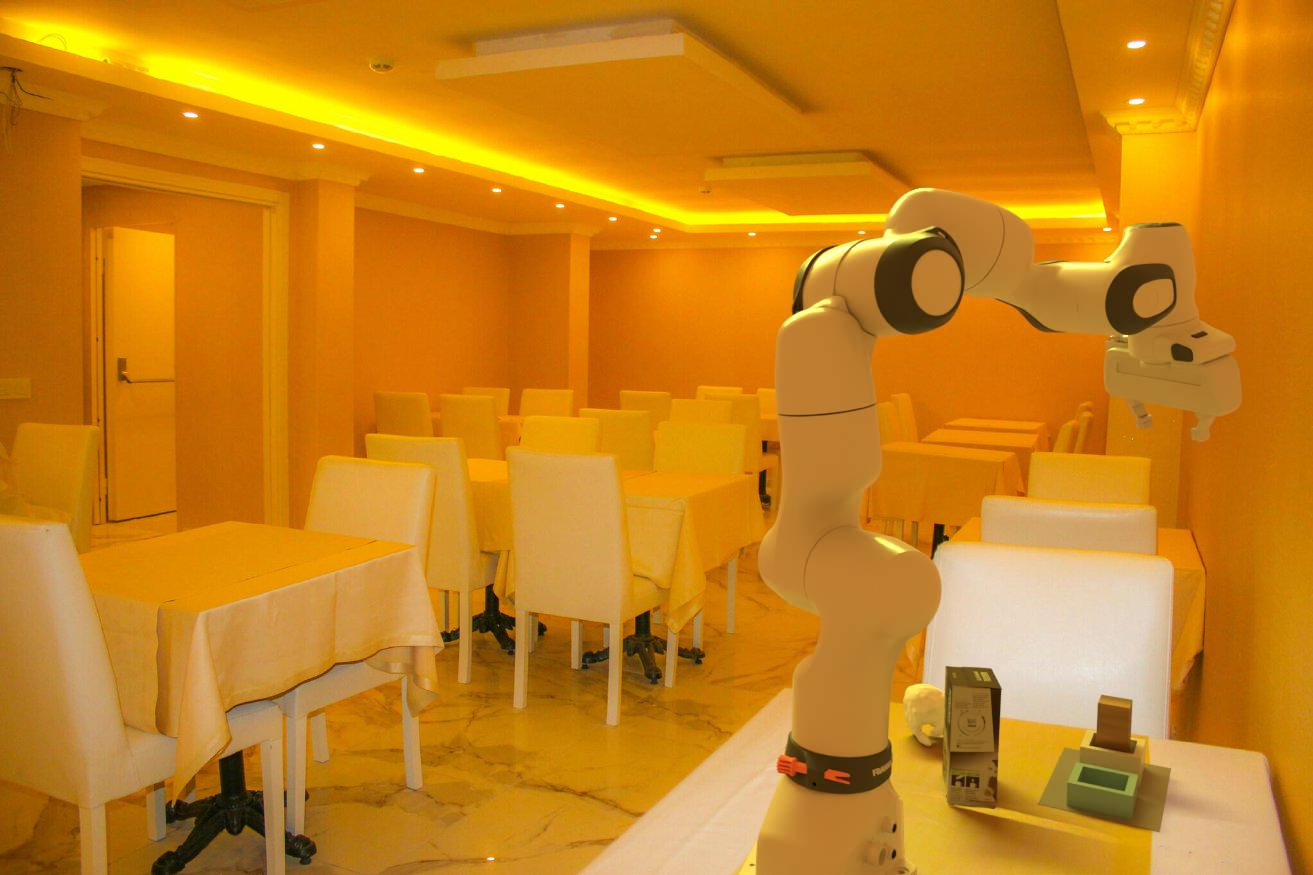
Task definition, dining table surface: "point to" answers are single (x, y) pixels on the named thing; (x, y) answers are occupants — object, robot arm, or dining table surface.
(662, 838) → the dining table surface
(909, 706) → the white lumpy rounded piece
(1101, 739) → the plug
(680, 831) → the dining table surface
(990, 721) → the coffee box
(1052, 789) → the caddy
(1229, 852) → the dining table surface
